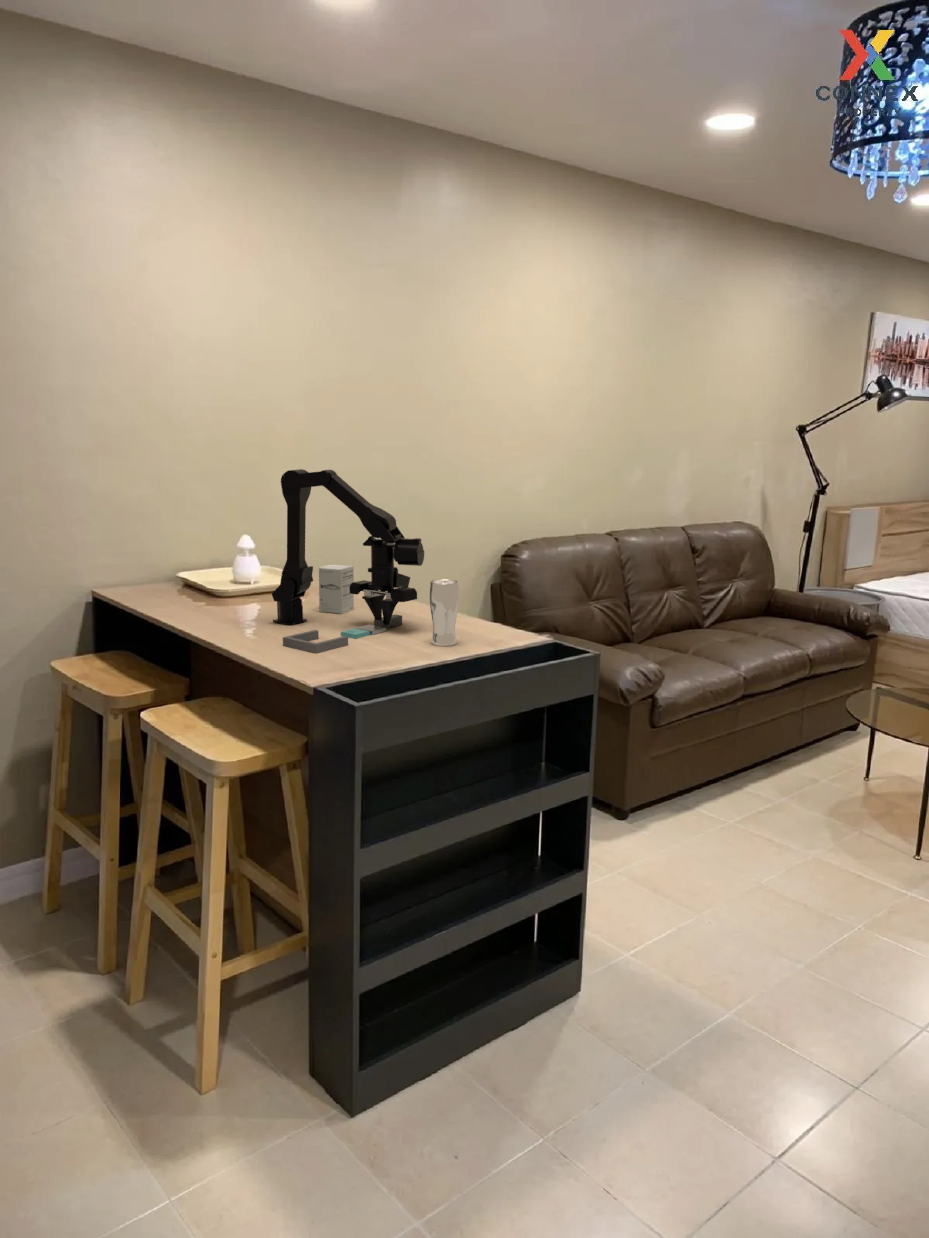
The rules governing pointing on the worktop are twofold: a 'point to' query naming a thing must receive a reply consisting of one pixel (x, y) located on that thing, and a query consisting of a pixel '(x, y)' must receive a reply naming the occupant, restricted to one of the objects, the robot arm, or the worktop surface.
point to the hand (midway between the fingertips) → (383, 624)
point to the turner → (382, 624)
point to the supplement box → (336, 588)
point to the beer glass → (444, 611)
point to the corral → (303, 642)
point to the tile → (355, 633)
